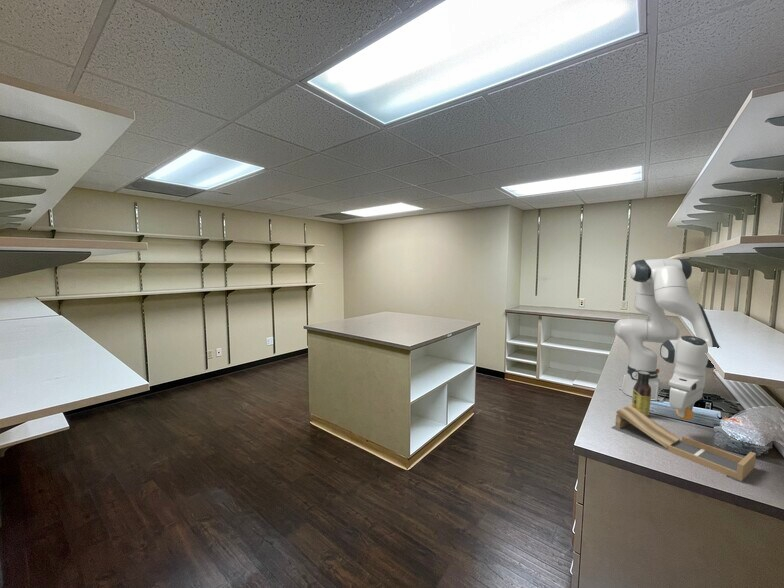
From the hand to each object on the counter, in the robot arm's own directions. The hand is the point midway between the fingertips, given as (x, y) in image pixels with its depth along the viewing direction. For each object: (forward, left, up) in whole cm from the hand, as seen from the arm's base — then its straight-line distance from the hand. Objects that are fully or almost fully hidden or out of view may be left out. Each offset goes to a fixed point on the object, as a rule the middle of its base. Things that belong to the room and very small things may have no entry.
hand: (684, 414), depth 122 cm
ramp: (+11, -8, -9) cm, 16 cm away
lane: (+11, +1, -9) cm, 14 cm away
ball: (0, 0, -2) cm, 2 cm away
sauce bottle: (-6, -17, -10) cm, 20 cm away
